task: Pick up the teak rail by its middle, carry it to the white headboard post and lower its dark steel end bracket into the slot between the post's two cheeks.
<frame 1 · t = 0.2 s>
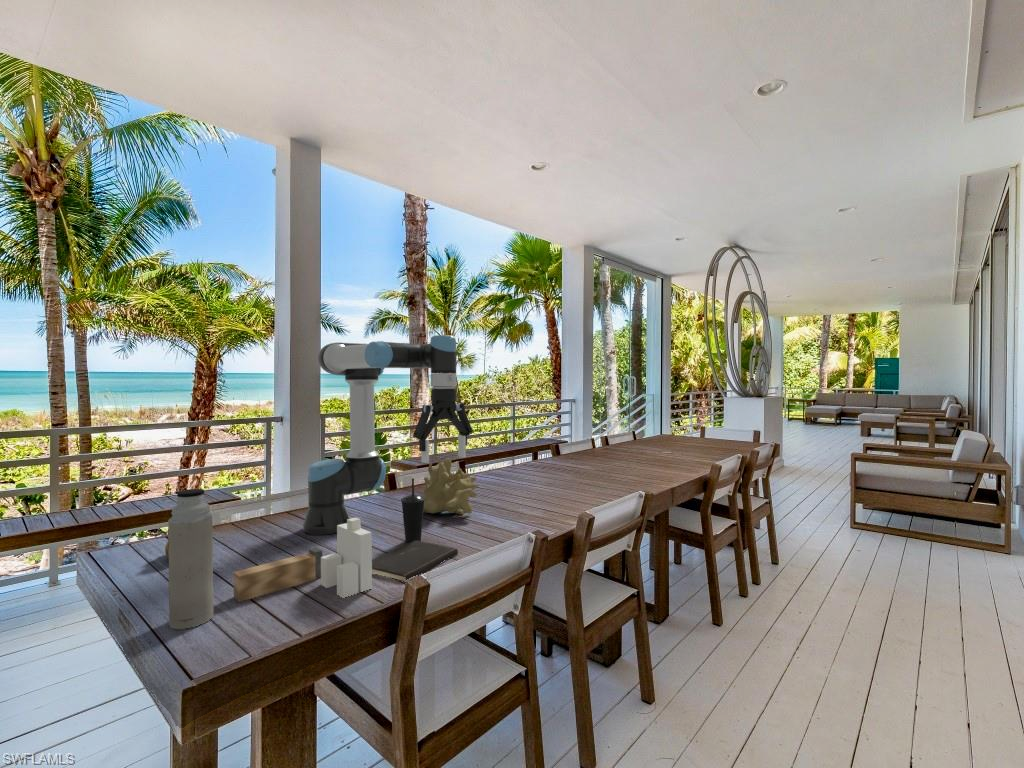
hand: (444, 459, 146), 28 cm above the table, tool pointing down, fingers open, 13 cm apart
headboard post: (345, 587, 123), on the table
bread roll: (185, 557, 145), on the table
rail: (276, 587, 123), on the table
decorative coral: (448, 514, 190), on the table
thermos bottle: (191, 621, 106), on the table
hardcover book: (411, 565, 140), on the table
drinking cup: (413, 541, 158), on the table
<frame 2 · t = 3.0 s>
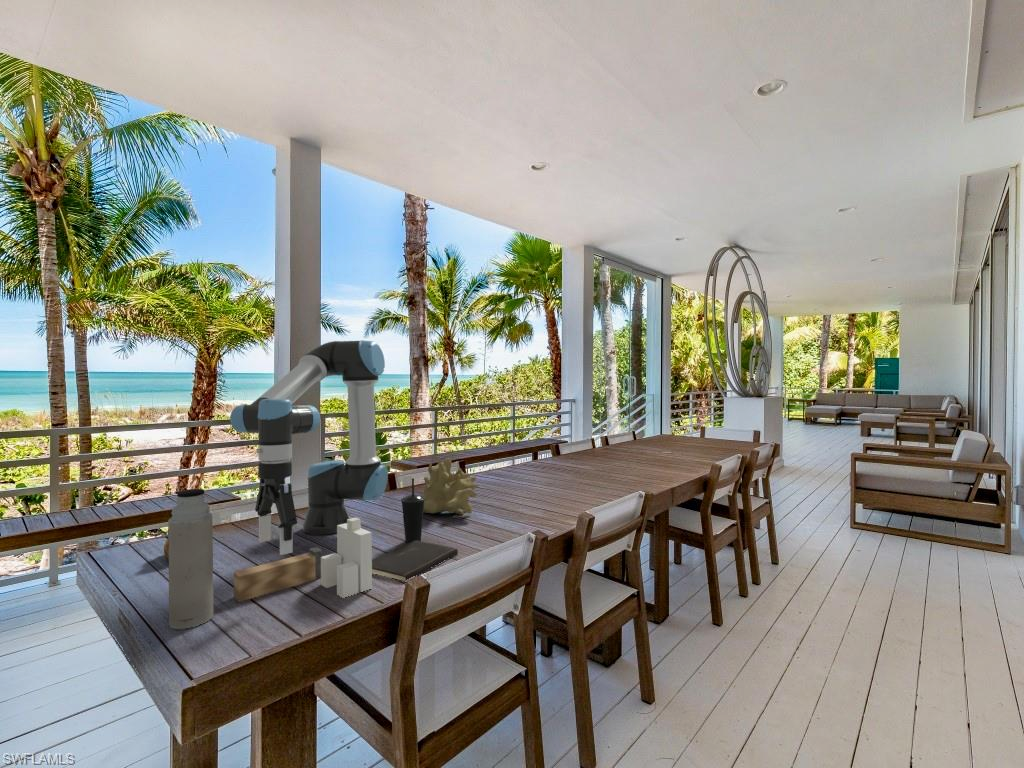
hand: (275, 547, 122), 10 cm above the table, tool pointing down, fingers open, 13 cm apart
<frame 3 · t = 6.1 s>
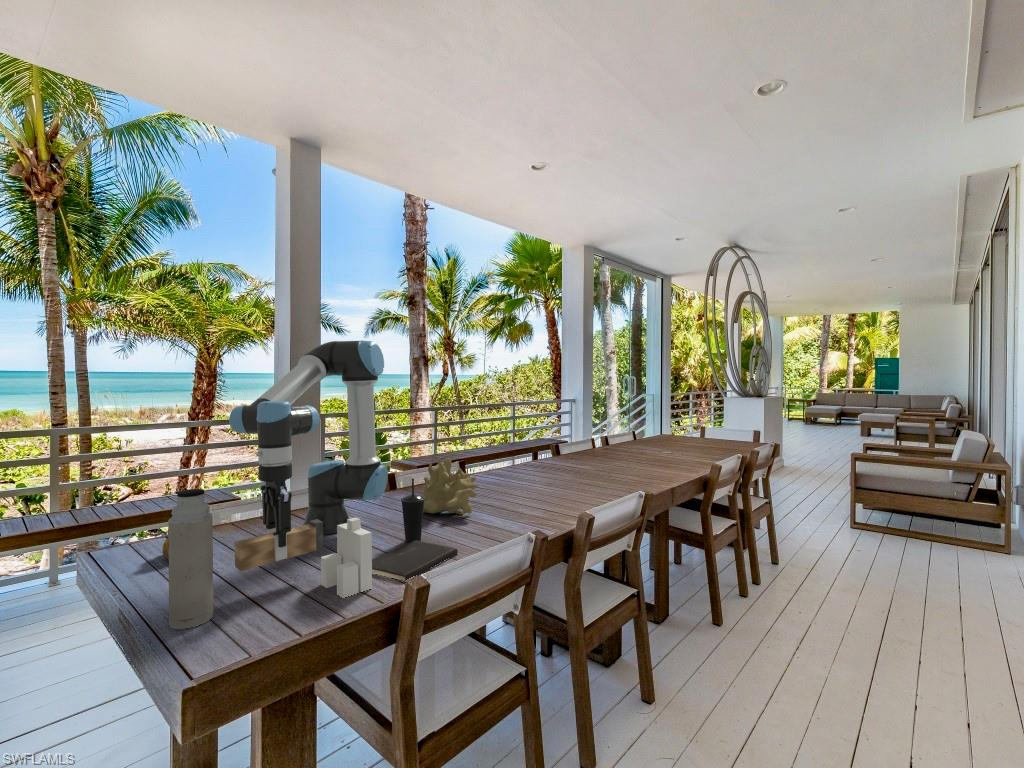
hand: (277, 556, 123), 8 cm above the table, tool pointing down, fingers closed on rail, 4 cm apart
rail: (277, 558, 123), point 7 cm above the table, touching gripper
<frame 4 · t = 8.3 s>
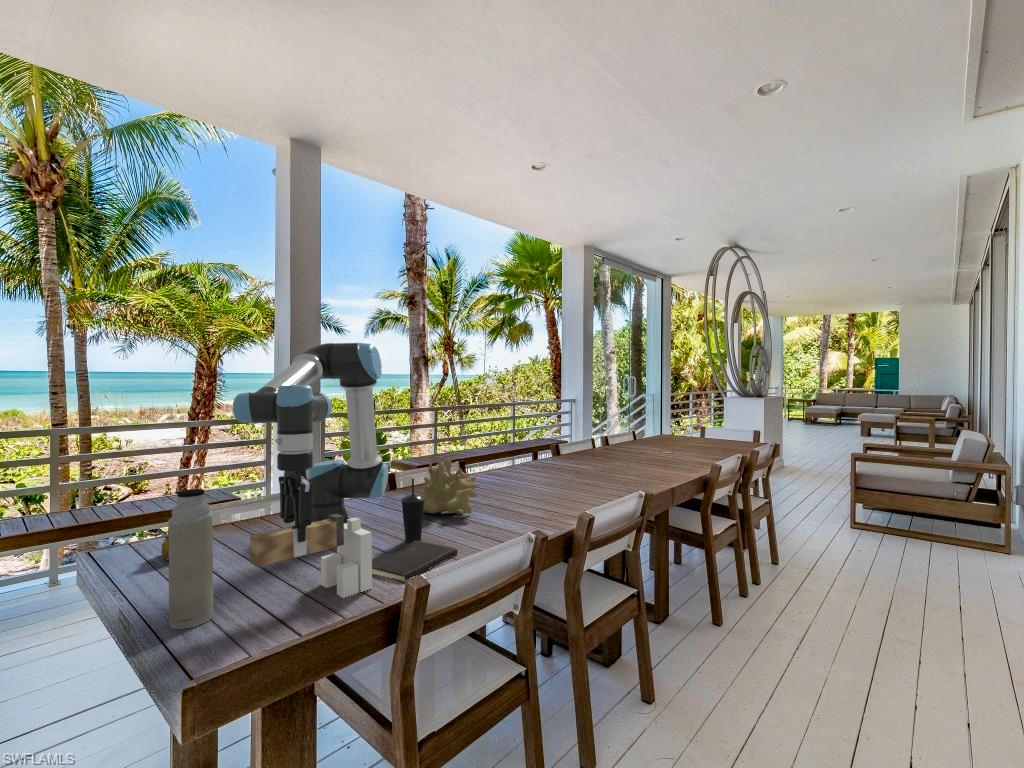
hand: (295, 552, 114), 12 cm above the table, tool pointing down, fingers closed on rail, 4 cm apart
rail: (295, 554, 114), point 11 cm above the table, touching gripper
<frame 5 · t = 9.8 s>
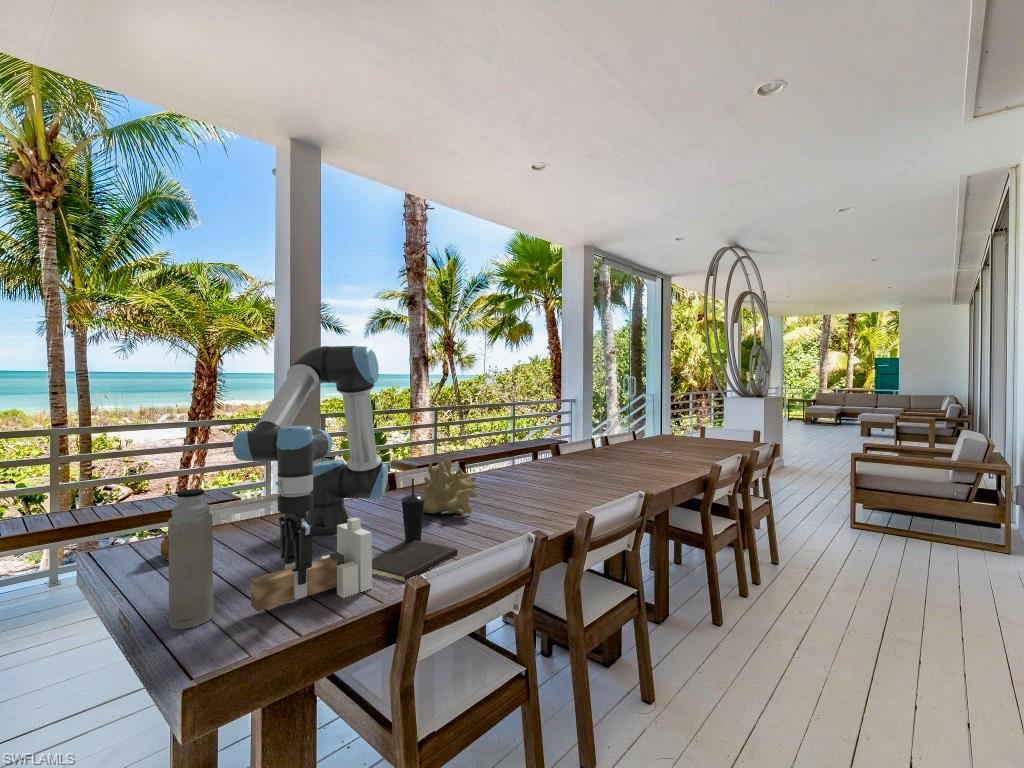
hand: (296, 594, 114), 2 cm above the table, tool pointing down, fingers closed on rail, 4 cm apart
rail: (295, 595, 114), point 2 cm above the table, touching gripper
when the fingers open (0 cm above the table, at t = 10.7 s): rail stays where it is, on the table.
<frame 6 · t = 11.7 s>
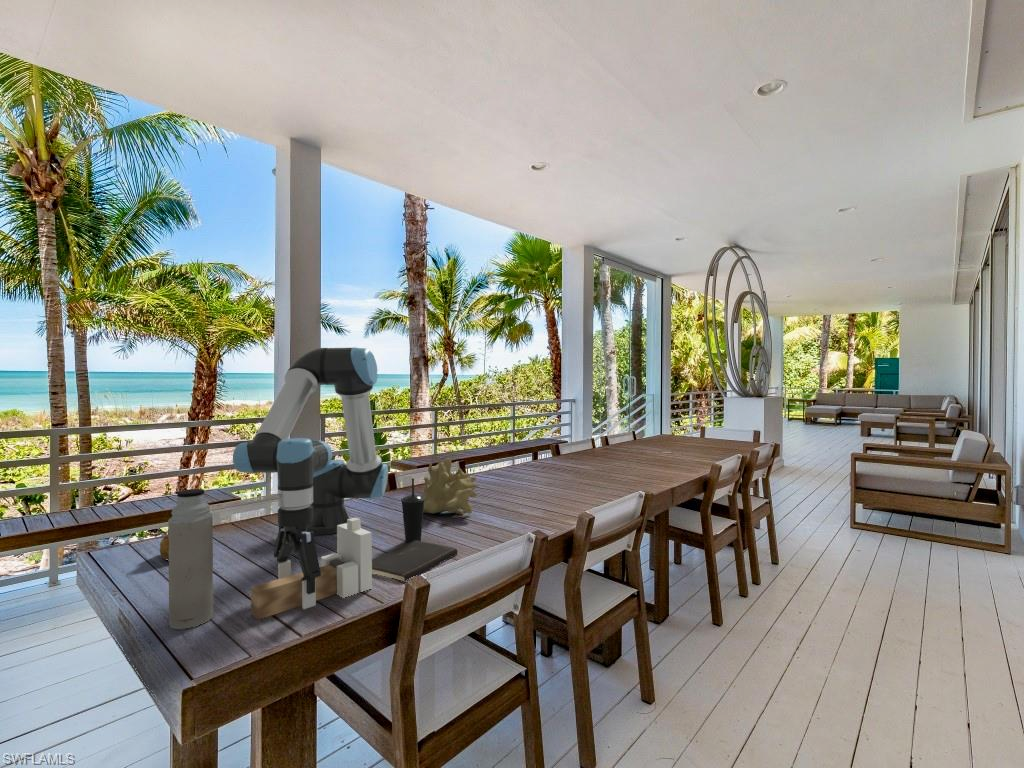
hand: (296, 597, 114), 1 cm above the table, tool pointing down, fingers open, 13 cm apart
rail: (296, 603, 114), on the table
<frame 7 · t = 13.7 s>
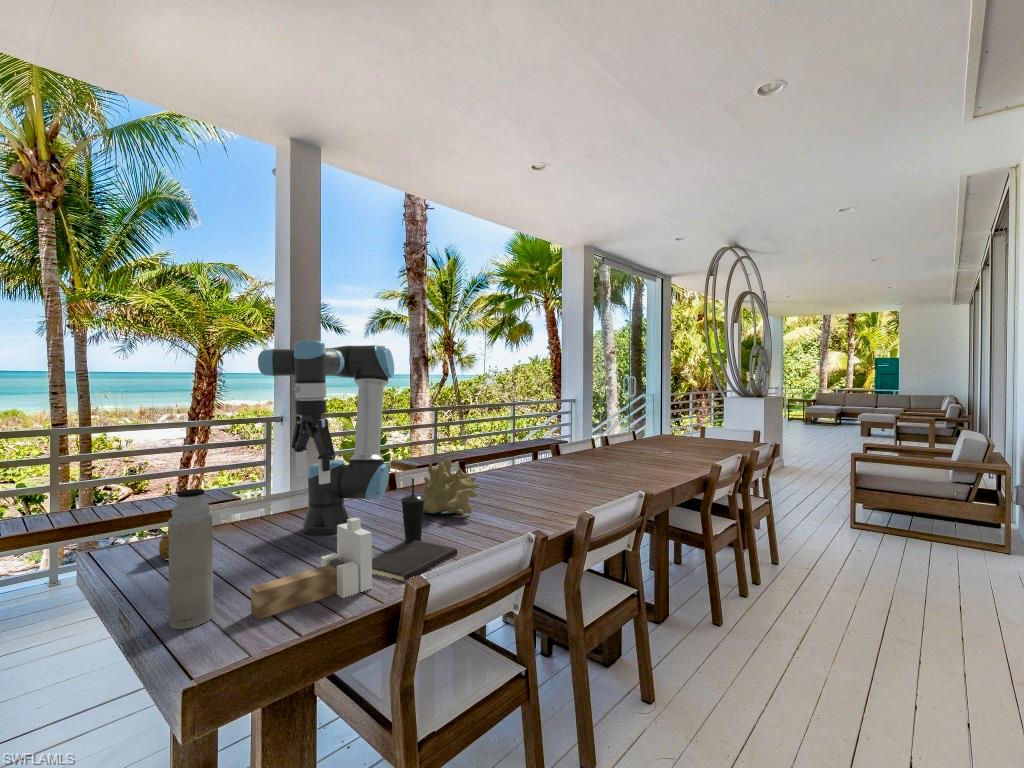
hand: (312, 479, 131), 25 cm above the table, tool pointing down, fingers open, 13 cm apart
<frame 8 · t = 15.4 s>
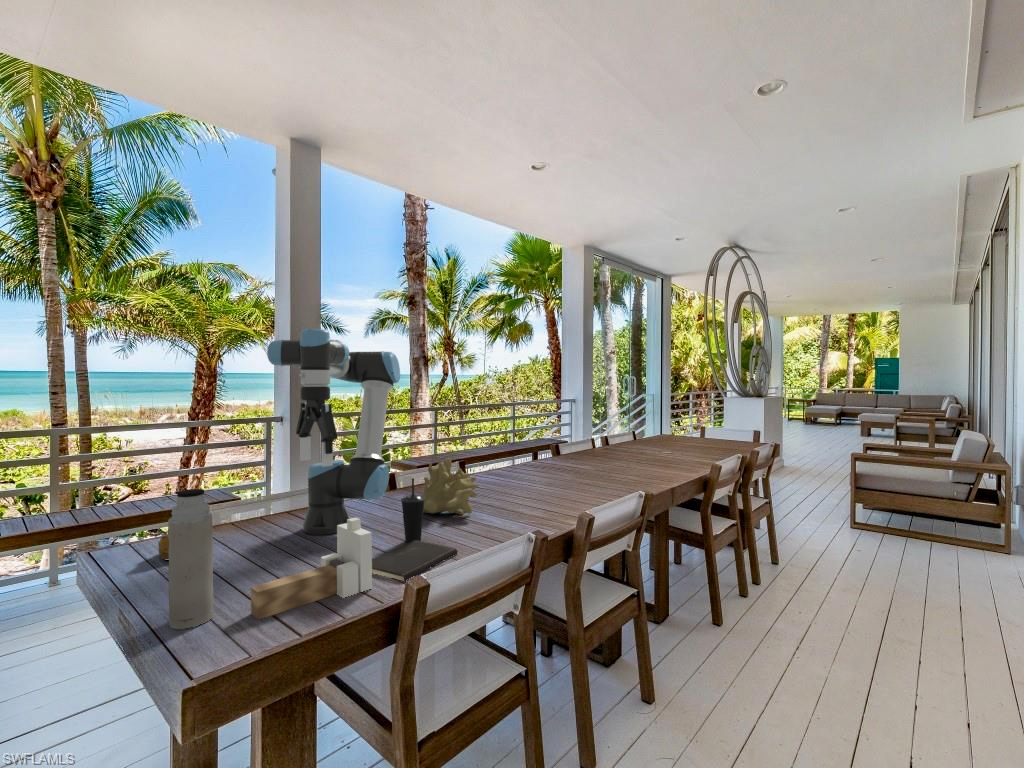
hand: (316, 463, 136), 29 cm above the table, tool pointing down, fingers open, 13 cm apart
at the end: rail 0.6 cm from the target spot on the table beside the headboard post, on the table; rail tilted 0°; the gripper is holding nothing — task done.
